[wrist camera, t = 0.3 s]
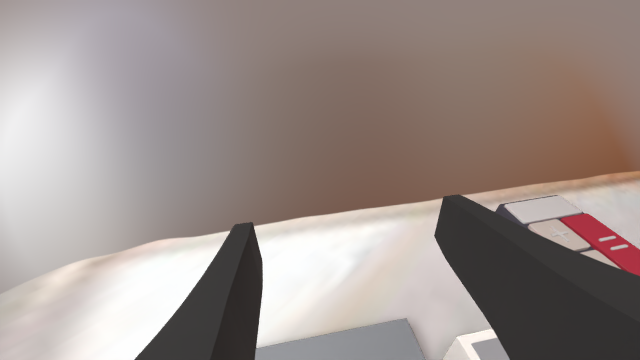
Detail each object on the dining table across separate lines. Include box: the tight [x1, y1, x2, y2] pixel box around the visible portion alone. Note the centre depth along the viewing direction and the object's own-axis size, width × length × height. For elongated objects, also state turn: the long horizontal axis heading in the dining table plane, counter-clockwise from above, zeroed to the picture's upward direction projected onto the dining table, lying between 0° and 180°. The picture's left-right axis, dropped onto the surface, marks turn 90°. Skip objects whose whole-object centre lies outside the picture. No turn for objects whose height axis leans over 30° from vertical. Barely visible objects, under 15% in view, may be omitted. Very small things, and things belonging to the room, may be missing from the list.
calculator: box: [495, 195, 640, 276], centre depth 35 cm, size 11×4×15 cm
